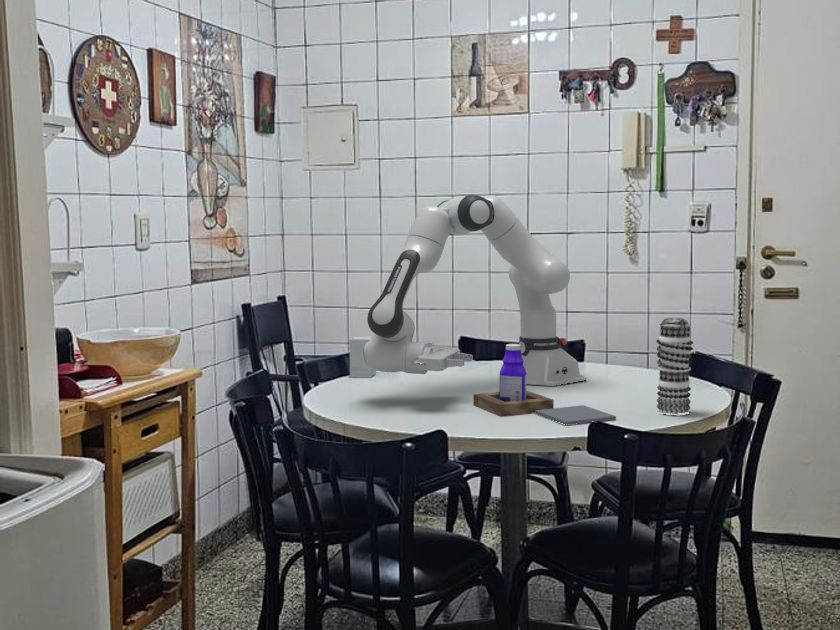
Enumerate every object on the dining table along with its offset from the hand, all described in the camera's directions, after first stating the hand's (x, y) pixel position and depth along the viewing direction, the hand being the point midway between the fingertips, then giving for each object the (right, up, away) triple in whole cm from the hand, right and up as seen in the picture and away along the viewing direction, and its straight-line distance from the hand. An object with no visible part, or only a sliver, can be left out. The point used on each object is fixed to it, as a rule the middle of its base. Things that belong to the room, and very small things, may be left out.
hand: (468, 360), depth 259 cm
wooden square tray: (+12, -13, -2) cm, 18 cm away
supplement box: (-32, -8, +50) cm, 59 cm away
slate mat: (+27, -14, -14) cm, 33 cm away
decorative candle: (+54, -13, -10) cm, 56 cm away
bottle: (+12, -13, -2) cm, 18 cm away
